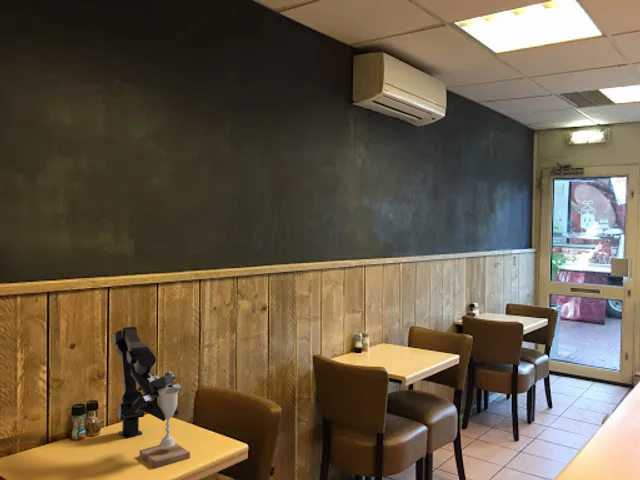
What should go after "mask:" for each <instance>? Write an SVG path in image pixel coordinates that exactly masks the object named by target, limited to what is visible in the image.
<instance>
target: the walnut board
mask: <svg viewBox="0 0 640 480" xmlns="http://www.w3.org/2000/svg"><path fill="white" fill-rule="evenodd" d="M139 457H140V458H141V459H142V460H144V461H145V462H147V463H148V464H149V465H151V467H154V468H155V469H158V468H162V467H164V466H165V467H166V466H168V465H172V464H175V463H178V462H181V461H185V460H188V459H191V452H190V451H189V450H187V449H186V448H184V447H182V446H181V445H179V444H177V443H176V442H175V445H173V446H170V447H162V446H160V444H159V445H158V444H157V445H155V446H151V447H146V448H143V449H140V450H139Z"/></svg>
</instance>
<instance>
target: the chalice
mask: <svg viewBox="0 0 640 480" xmlns="http://www.w3.org/2000/svg"><path fill="white" fill-rule="evenodd" d="M179 391H180V390H179V389H178V388H176V387H168V386H167V387H166V388H162V389H159V390H158V393H159V399H158V406H159V407H160V409H161V411H162V412H163V414H164V416H165V418H166V422H165V425H166V428H165V429H164V431H165V432H166V434H165V435H164V436H163V437H162V438H161V441H160V443H159V445H160V446H162V447H170V446H173V445H175V443H176V441H175V439H174V437H173V435H171V434H170V431H171V427H170V426H171V421H170V419H171V418H173V416H174V415H175V414H174V412H175V410H176V407H177V408H178V393H179Z"/></svg>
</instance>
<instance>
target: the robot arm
mask: <svg viewBox="0 0 640 480" xmlns="http://www.w3.org/2000/svg"><path fill="white" fill-rule="evenodd" d="M112 338H113V339H112V344H113V346H115V352H116V353H117V354H118V355H119V356H120V361H121V372H122V374H121V375H122V385H123V395H122V397H121V399H120V403H119V405H118V407H117V418H118V419H119V421H122V429H121V430H119V431H118V434H119V435H121V436H122V437H123V438H125V439H126V438H132V437H134V436H139V435H143V432H142V431H141V430H140V425H139V423H140V421H139V420H140V418H144V416H145V413H146V414H148V415H151V416H153V417H154V418H157V419H159V420H161V421H162V422H165V421H167V419H166V418H165V416H164V414H163V412H162V411H161V409H160V407H159V393H158V390H159V389H162V388H166V387H176V388H178V389H179V391H180V390H181V389H182V386H181V385H180V383H179V382H175V381H174V380H175V379H176V375H175V374H174V372H173V371H167V372H165V373H164V376H161V377H160V376H159V375H154V373H153V368H154V366H155V364H156V361H157V360H156V359H157V358H156V356H155V353H153V352H152V349H151V348H150V347H149V346H148V344H146V343H144V342H142V340H141V339H140V336H139V331H138V329H137V327H136V326H124V327H121V329H120V330H118V331H117V332H114V335H113V337H112ZM137 385H138V388H137ZM141 391H142V392H143V393H142V392H141ZM173 415H174V416H178V415H179V411H178V406H177V407H176V410H175V412H174V414H173Z"/></svg>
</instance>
